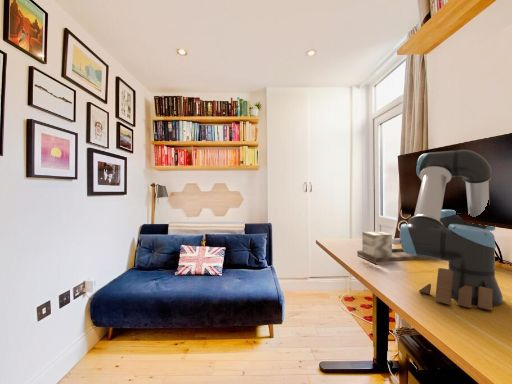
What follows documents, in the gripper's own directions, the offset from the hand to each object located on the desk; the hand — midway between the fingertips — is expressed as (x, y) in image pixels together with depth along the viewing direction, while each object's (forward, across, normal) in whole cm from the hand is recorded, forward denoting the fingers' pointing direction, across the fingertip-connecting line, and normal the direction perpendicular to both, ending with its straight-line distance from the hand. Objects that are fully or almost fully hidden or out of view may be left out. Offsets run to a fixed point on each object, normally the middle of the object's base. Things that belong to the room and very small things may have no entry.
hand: (393, 241), depth 125 cm
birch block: (+10, 0, -7) cm, 12 cm away
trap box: (-6, 0, -9) cm, 11 cm away
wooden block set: (+17, -46, -9) cm, 50 cm away
